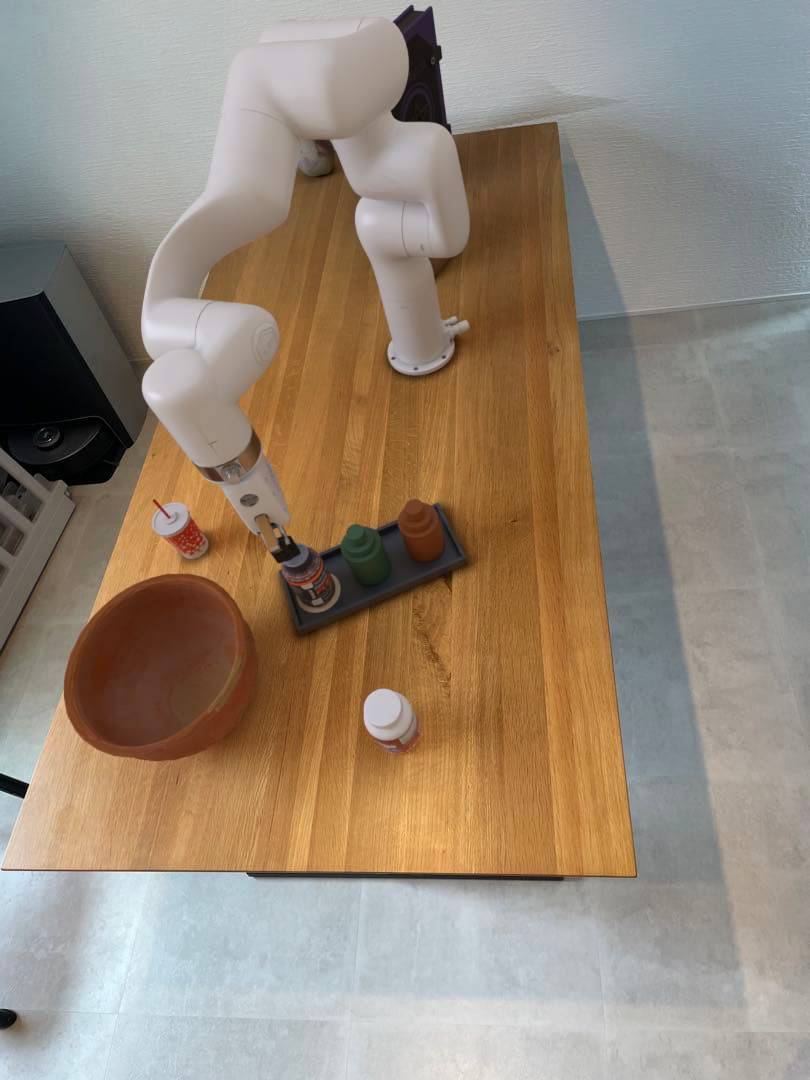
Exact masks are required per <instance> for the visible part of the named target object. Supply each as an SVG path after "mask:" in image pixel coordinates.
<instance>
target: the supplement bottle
mask: <svg viewBox="0 0 810 1080" xmlns="http://www.w3.org/2000/svg"><path fill="white" fill-rule="evenodd" d="M295 543H296V545H297V546H298V548H299V549H300V552H301V554H300V555H298V556H296V557H294V558H293V559H291V560H289V561H287V562H282V563H281V567H280V568H281V569H282V573H283V576H284V577H285V579H286V580H287V582H288V583H289V585H290V586H291V588H292V589H293V591H294V592H295V593H296V595H297V596H298V598H299V599H300V600H301V602H302V603H303V604H305V605H307V606H309V607H320V606H323V605H325V604H326V603H328V602H329V601H330V600H331V599H332V597H333V595H334V593H335V582H334V580H333V578H332V576H331V574H330V573H329V571H328V569H327V567H326V565H325V564H324V562H323V560H322V558H321V557H320V555H319V552H318V551H316V549H314V548H312V547H309V546H307V545H306V544H304V543H301V542H295ZM281 569H280V570H281Z"/></svg>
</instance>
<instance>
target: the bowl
mask: <svg viewBox="0 0 810 1080" xmlns="http://www.w3.org/2000/svg"><path fill="white" fill-rule="evenodd" d="M255 642H256V641H255V639H254V636H253V632H252V630H251V627H250V625H249V623H248V622H247V620H245V618H244V616H243V613H242V611H241V610H240V608H239V606H238V604H237V602H236V601H235V599H234V598H233V597H232V596H231V594H230V593H228V591H226V589H225V588H224V587H222V586H221V585H220V584H218V583H217V582H216V581H214V580H211V579H209V578H207V577H205V576H203V575H197V574H192V573H164V574H160V575H156V576H152V577H148V578H147V579H143V580H141V581H139V582H137V583H134V584H132V585H130V586H128V587H127V588H125V589H124V590H122V591H120V592H118V593H117V594H115V595H114V596H113V597H112V598H111V599H109V600H108V601H107V602H106V603H105V604H104V605H103V606H101V607H100V608H99V609H98V611H96V612H95V614H94V615H93V616H92V617H91V618H90V620H88V622H87V623H86V625H85V626H84V627H83V629H81V631H80V633H79V635H78V637H77V639H76V641H75V644H74V645H73V647H72V649H71V652H70V653H69V657H68V661H67V664H66V668H65V672H64V679H63V701H64V705H65V711H66V716H67V718H68V720H69V722H70V724H71V726H72V727H73V729H74V731H75V733H76V734H77V735H78V736H79V737H80V738H81V740H83V741H84V742H85V743H86V744H88V745H90V746H91V747H92V748H94V749H95V750H97V751H99V752H101V753H104V754H107V755H109V756H112V757H117V758H118V757H119V758H131V759H137V760H139V761H148V762H166V761H167V762H168V761H177V760H180V759H183V758H187V757H191V756H194V755H197V754H200V753H201V752H205V751H207V749H208V748H210V747H212V746H214V745H216V744H217V743H218V742H220V740H222V739H223V738H224V737H225V736H226V735H228V734H229V733H230V732H231V731H232V730H233V729H234V728H235V727H236V726H237V725H238V724H240V723H241V721H242V716H243V714H245V712H246V711H247V708H248V707H249V704H250V702H251V701H252V698H253V696H254V694H255V691H256V688H257V686H258V683H259V682H258V681H259V680H258V678H257V677H258V666H259V662H258V661H259V659H258V652H257V647H256V643H255Z"/></svg>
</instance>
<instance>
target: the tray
mask: <svg viewBox="0 0 810 1080" xmlns="http://www.w3.org/2000/svg"><path fill="white" fill-rule="evenodd" d="M430 505H431V506H432V507H434V508H435V510H436V511H437V513H438V517H439V520H440V524H441V528H442V532H443V536H444V539H445V549H444V551H443V553H442V554H441V556H440V557H439V558H437V559H436V560H434V561H431V562H426V563H423V562H418V561H415V560H414V559H412V558H411V557H410V555H409V554H408V551H407V549H406V546H405V543H404V540H403V538H402V535H401V532H400V529H399V527H398V519H396V520H394V521H391V522H388V523H386V524H384V525H382V526H379V527H377V528H375V529H374V530H376V531H377V532H378V534H379V535H380V538H381V540H382V542H383V545H384V547H385V549H386V552H387V554H388V557H389V559H390V561H391V572H390V575H389V576H388V578H387V579H386V580H385V581H384V582H382V583H381V584H378V585H375V586H365V585H362V584H360V583H359V582H358V581H357V580H356V579H355V577H354V575H353V573H352V571H351V569H350V567H349V565H348V564H347V562H346V560H345V558H344V556H343V554H342V552H341V543H339V544H337V545H335V546H333V547H331V548H328V549H326V550H323V551H321V552H318V554H319V555H320V557H321V558H322V560H323V562H324V564H325V565H326V567H327V569H328V571H329V573H331V574H332V575H334V576H335V577H336V578H337V579H338V581H339V583H340V587H341V591H340V596H339V598H338V600H337V602H336V603H335V604H334V605H333V606H332V607H331V608H329V609H328V610H326V611H323V612H320V613H311V612H307V611H305V610H304V609H302V608H301V607H300V605H299V604H298V601H297V597H296V593H295V592H294V591H293V589H292V588H291V586H290V585H289V583H288V582H287V580H286V579H285V577H284V576H283V573H282V569H279V570H278V573H279V577H280V580H281V583H282V587H283V589H284V590H283V591H284V593H285V596H286V599H287V602H288V605H289V608H290V613H291V615H292V618H293V621H294V624H295V628H296V630H297V632H298V633H299V634H300V636H301V637H302V636H305V635H307V634H309V633H311V632H312V633H313V632H314V631H316V630H319V629H321V628H323V627H325V626H328V625H331V624H332V623H335V622H336V621H340V620H342V619H345V618H347V617H349V616H351V615H353V614H356V613H358V612H360V611H362V610H365V609H367V608H369V607H372V606H374V605H377V604H379V603H381V602H383V601H386V600H388V599H390V598H392V597H395V596H397V595H401V594H402V593H404V592H406V591H409V590H411V589H414V588H416V587H418V586H420V585H423V584H425V583H428V582H430V581H433V580H434V579H436V578H439V577H441V576H443V575H446V574H448V573H450V572H452V571H455V570H457V569H460V568H462V567H465V566H467V565H468V564H469V562H468V557H467V555H466V553H465V552H464V549H463V547H462V546H461V543H460V542H459V539H458V537H457V535H456V534H455V531H454V530H453V528H452V526H451V524H450V522H449V520H448V518H447V517H446V515H445V512H444V510H443V509H442V506H441V504H440V503H439V502H436V503H433V504H430Z"/></svg>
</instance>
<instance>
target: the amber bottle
mask: <svg viewBox="0 0 810 1080" xmlns="http://www.w3.org/2000/svg"><path fill="white" fill-rule="evenodd" d="M431 505H432V504H429V503H426V502H422V500H420V499H417V498H412V499H409V500H408V501H406V503H405V505H404V508H403V509H402V510H401V511H400V513H399V514H398V518H397V520H398V527H399V529H400V532H401V535H402V538H403V540H404V543H405V546H406V549H407V551H408V554H409V555H410V557H411V558H412V559H414V560H415V561H418V562H423V563H426V562H431V561H434V560H436V559H437V558H439V557H440V556H441V554H442V553H443V551H444V549H445V539H444V536H443V532H442V528H441V524H440V520H439V517H438V513H437V511H436V510H435V508H434V507H432V506H431Z"/></svg>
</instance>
